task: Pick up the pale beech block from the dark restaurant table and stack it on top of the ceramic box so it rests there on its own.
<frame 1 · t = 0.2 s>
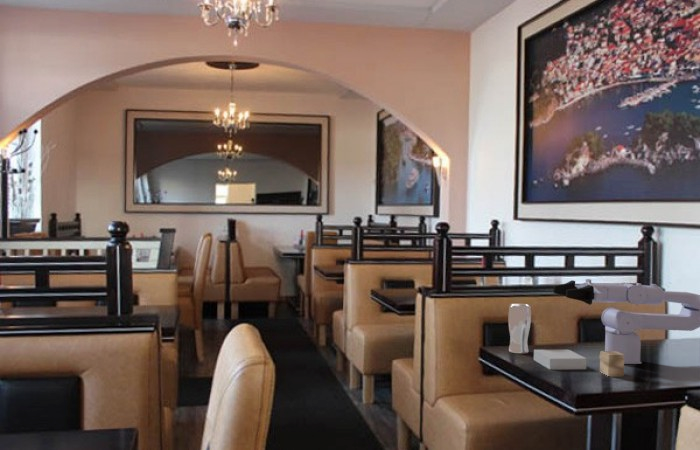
hand: (560, 291, 181), 21 cm above the table, tool horizontal, fingers open, 7 cm apart
beer glass: (518, 352, 195), on the table
beech block: (611, 374, 170), on the table
ceramic box: (559, 365, 179), on the table
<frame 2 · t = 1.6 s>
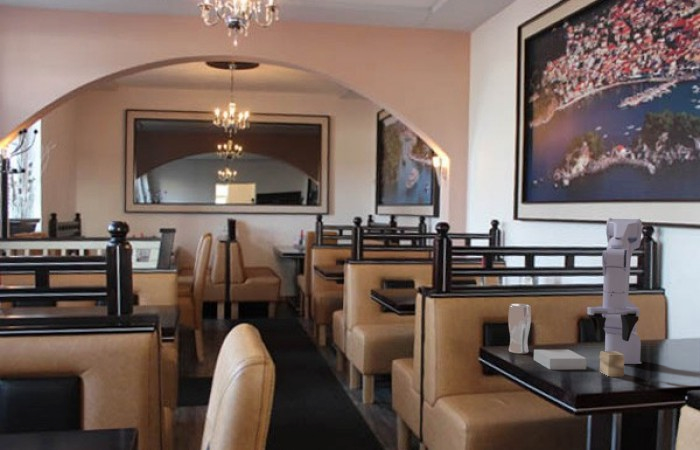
hand: (612, 340, 169), 9 cm above the table, tool pointing down, fingers open, 7 cm apart
nothing on the table moved.
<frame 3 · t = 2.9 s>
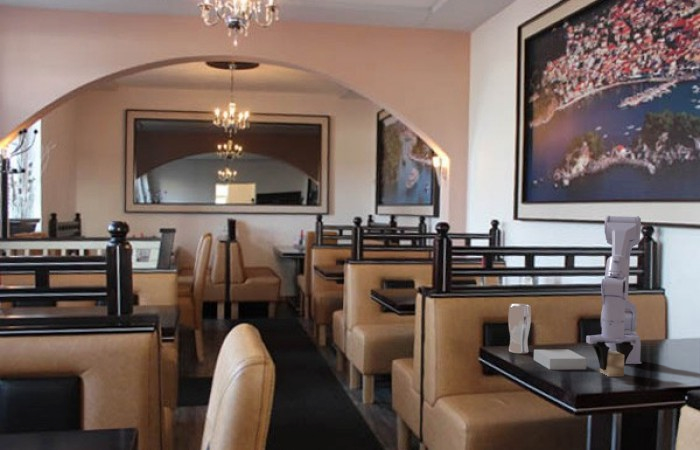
hand: (611, 369, 170), 1 cm above the table, tool pointing down, fingers closed on beech block, 4 cm apart
beech block: (611, 374, 170), on the table, touching gripper
everything else where it was.
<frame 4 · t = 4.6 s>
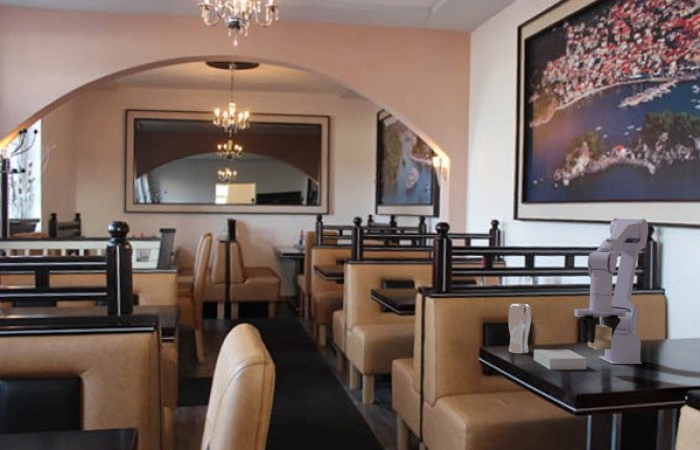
hand: (599, 342, 172), 8 cm above the table, tool pointing down, fingers closed on beech block, 4 cm apart
beech block: (599, 347, 172), point 7 cm above the table, touching gripper
everything else where it was.
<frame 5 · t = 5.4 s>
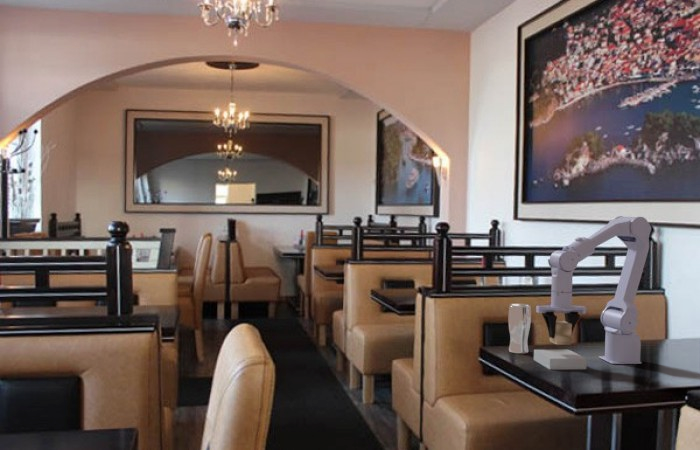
hand: (560, 337, 179), 8 cm above the table, tool pointing down, fingers closed on beech block, 4 cm apart
beech block: (560, 342, 179), point 6 cm above the table, touching gripper
everything else where it was.
when the fingers open (6 cm above the table, at t = 6.1 s): beech block drops 2 cm, resting on ceramic box.
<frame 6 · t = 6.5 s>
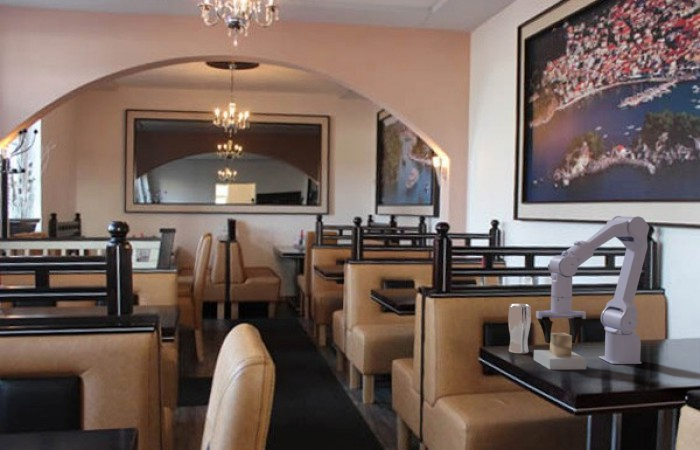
hand: (559, 342, 179), 6 cm above the table, tool pointing down, fingers open, 7 cm apart
beech block: (560, 354, 179), point 3 cm above the table, touching ceramic box
ceramic box: (559, 366, 179), on the table, touching beech block
everything else where it was.
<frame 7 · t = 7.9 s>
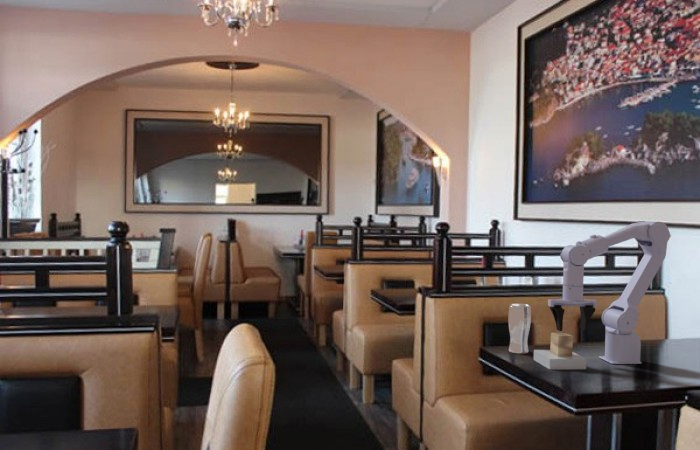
hand: (571, 330, 183), 9 cm above the table, tool pointing down, fingers open, 7 cm apart
beech block: (561, 354, 179), point 3 cm above the table
ceramic box: (559, 366, 180), on the table
everything else where it was.
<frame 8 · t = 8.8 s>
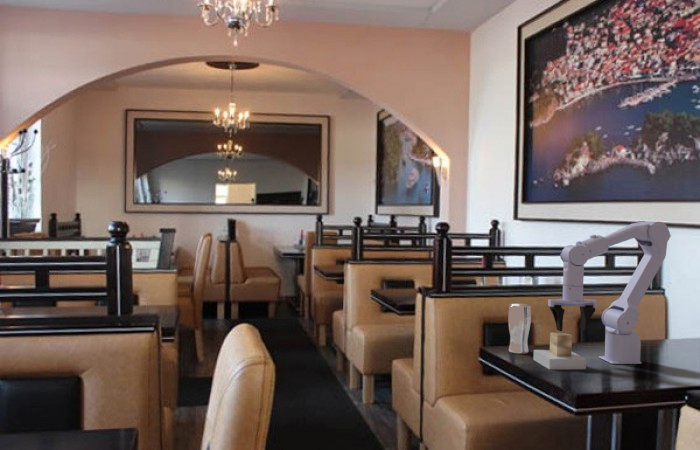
hand: (571, 330, 183), 9 cm above the table, tool pointing down, fingers open, 7 cm apart
beech block: (560, 354, 179), point 3 cm above the table, touching ceramic box
ceramic box: (558, 366, 180), on the table, touching beech block
everything else where it was.
at the end: beech block inside the target area on the ceramic box (0.4 cm from its centre), point 3.5 cm above the ceramic box's base; beech block tilted 1°; the gripper is holding nothing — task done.
